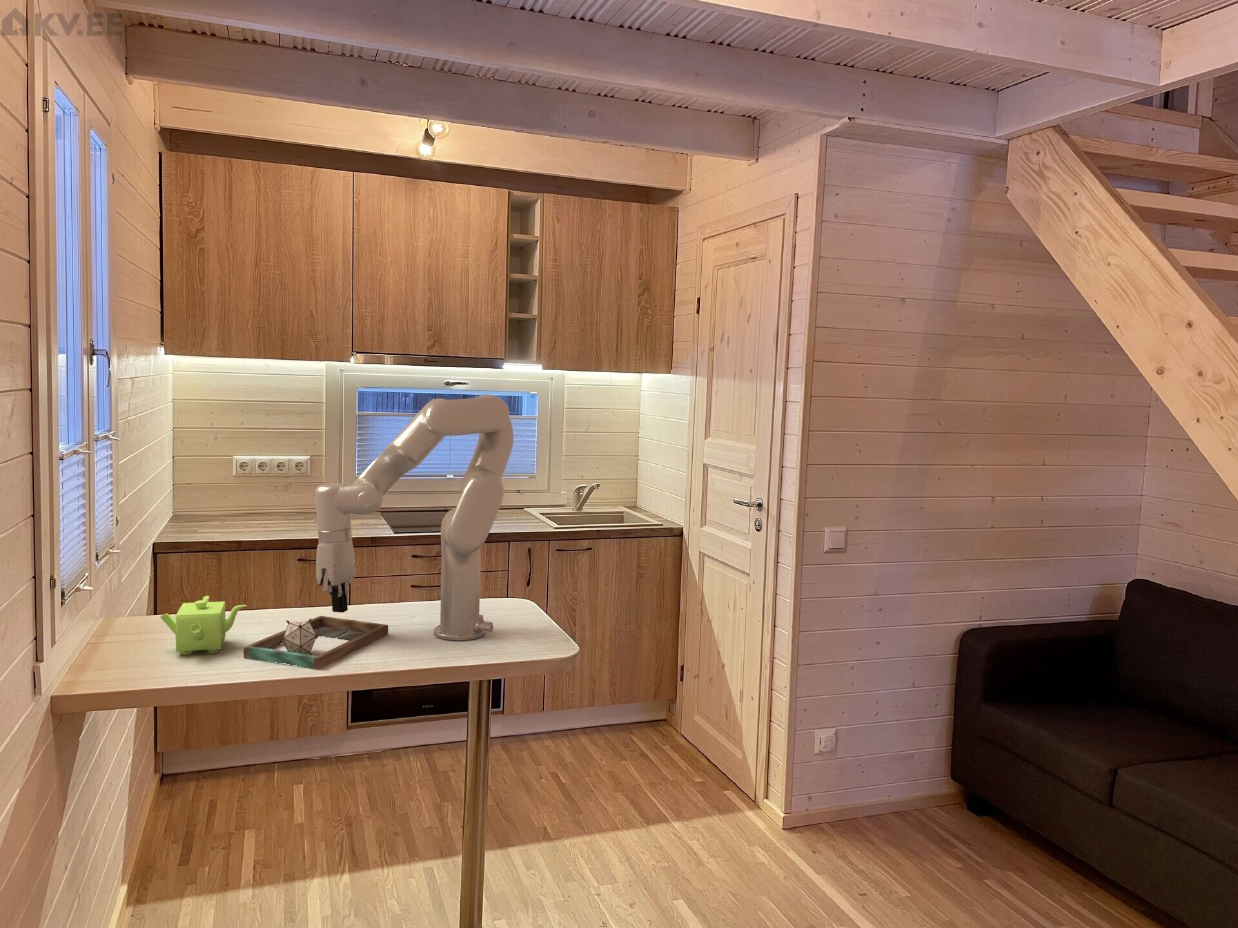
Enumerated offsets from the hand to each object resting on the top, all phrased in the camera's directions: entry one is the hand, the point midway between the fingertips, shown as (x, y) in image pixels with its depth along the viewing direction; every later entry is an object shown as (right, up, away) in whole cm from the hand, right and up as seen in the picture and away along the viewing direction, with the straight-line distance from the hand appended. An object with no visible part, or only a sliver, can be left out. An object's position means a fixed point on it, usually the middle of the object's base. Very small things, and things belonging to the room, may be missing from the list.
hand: (340, 611), depth 217 cm
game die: (-6, -8, -12) cm, 15 cm away
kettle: (-28, -7, -10) cm, 30 cm away
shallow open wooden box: (-3, -7, -5) cm, 9 cm away
